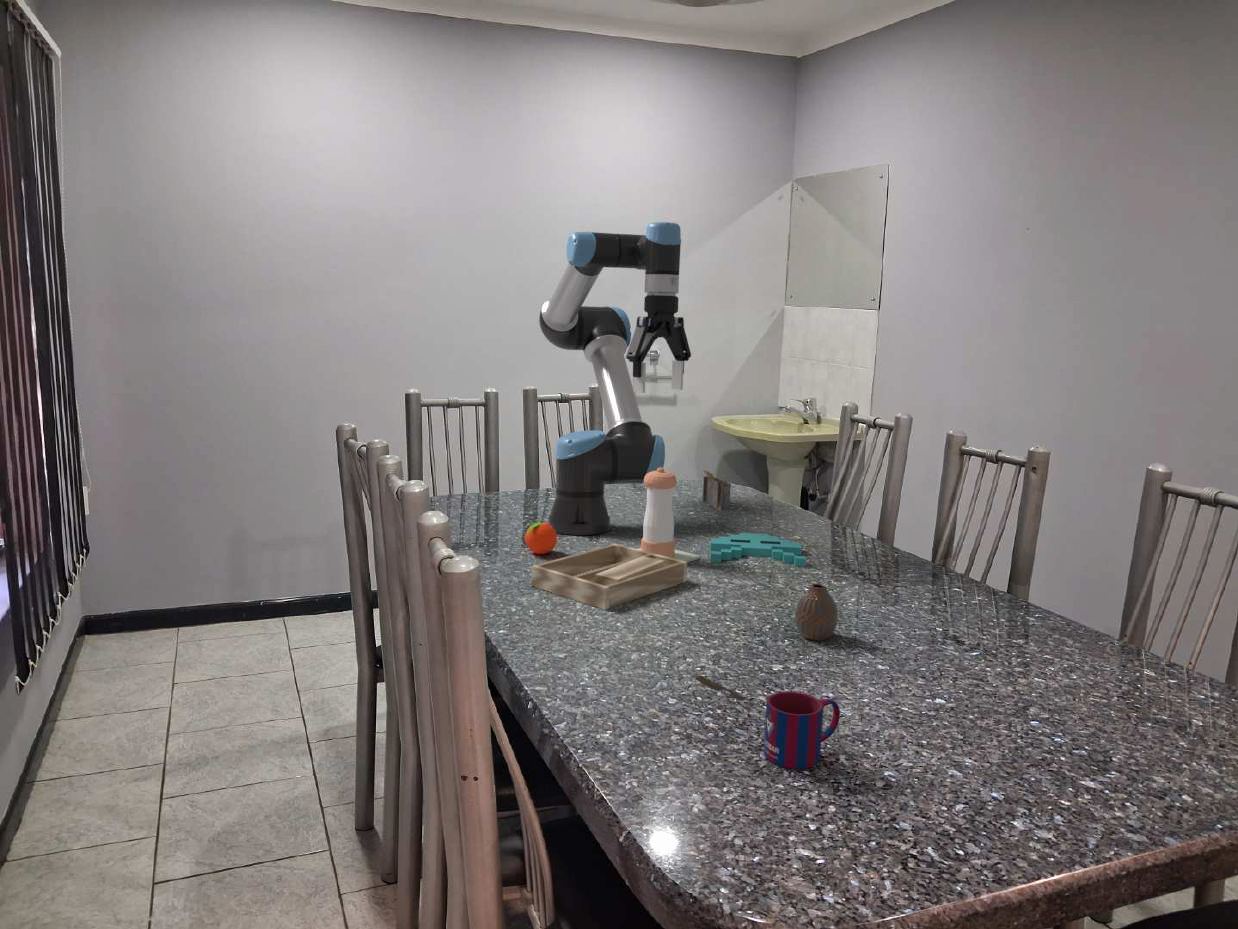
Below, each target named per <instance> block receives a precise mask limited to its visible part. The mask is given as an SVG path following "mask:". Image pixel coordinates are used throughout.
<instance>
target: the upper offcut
mask: <svg viewBox="0 0 1238 929" xmlns="http://www.w3.org/2000/svg"><path fill="white" fill-rule="evenodd" d="M662 567H664V560H659V559H654V558H649V557H645V556H642V557H639V558H637V559H634V560H632V561H629V562H626V563H624V564H621V565H619V566H616V567H613V568H611V569H608V570H605V571H603V572H600V573H598V574H595V583H598V584H601V585H604V586H606V585H609V584H612V583H615V582H618V581H621V580H625V579H628V578H631V577H634V576H637V575H640V574H643V573H646V572H650V571H653V570H656V569H659V568H662Z"/></svg>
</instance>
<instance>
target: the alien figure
mask: <svg viewBox="0 0 1238 929" xmlns="http://www.w3.org/2000/svg"><path fill="white" fill-rule="evenodd" d="M710 546H711V547H710V563H722V561H732V559H734V558H735V559H736V558H737V559H741V558H742V556H749V557H750V556H751V557H764V558H765V557H768V558H771V560H772V559H777V560H776V561H782V562H783V564H793V565H794V567H797V566H803V567H802V568H805V567H806V566H807V564H806V563H807V557H806V556H805V555H802V552H803V551H802V550H803V549H802V548H803V547H802V544H801V543H800V542H793V541H792V542H791V540H790V539H780V537H779V536H769V534H768V533H756V532H755V533H753V532H750V533H749V532H739V534H729V536H720V538H714V537H713V538H710ZM798 555H801V556H798Z"/></svg>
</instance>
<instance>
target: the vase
mask: <svg viewBox="0 0 1238 929" xmlns="http://www.w3.org/2000/svg"><path fill="white" fill-rule="evenodd" d="M794 618H795V621H794V622H795V625H796V628H797V630H798V632H799V633H800V634H801V636H802V637H803V638H804V639H807V640H810V641H826V640H827V639H828V638H830V637H831V636H832V635H833V634H834V633H835V630H836V628H837V626H838V622H839V612H838V608H837V603H836V602H835V600H834V599H833V597H832V596H831V594H830V593H829V590H828V588H827V586H826V585H824V584H822V583H812V584H811V585H810V587H809V589H808V590H807V591H806V592H805V593H804V594H803V595H802V597H800V599H799V600H798V602H797V605H796V608H795V612H794Z"/></svg>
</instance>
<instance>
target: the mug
mask: <svg viewBox="0 0 1238 929" xmlns="http://www.w3.org/2000/svg"><path fill="white" fill-rule="evenodd" d="M765 705H766V710H765V724H764V725H765V726H764V729H765V730H764V741H763V742H764V745H763V754H764V756H765V758H766V759H767V761H769V762H770V763H773V764H774V765H776V766H778V767H781V768H785V769H786V768H787V769H791V770H804V769H805V770H807V769H810V768H813V767H814V766H815V767H816V765H817V764H818V763H819V762H820V761H821V753H822V752H821V751H822V750H821V748H822V743H823V742H825V741H826V740H828V739H829V738H830V737H831V736H832V735H833V734H834V732H835V731H836V730H837V728H838V725H839V722H840V717H841V710H840V706H839V704H838V703H837V702H836V701H835V700H834V699H831V698H826V699H825V698H824V699H818V698H817V697H815V696H812V695H810V694H807V693H804V692H798V691H779V692H775V693H773V694H770V695H769V696H768V697H767V698H766V704H765ZM828 705H831V706H832V709H833V712H832V713H833V714H832V718H831V722H830V724H829V726H828V727H827V728H826V729H825V730H824V732H823V719H824V708H825V707H826V706H828Z"/></svg>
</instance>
